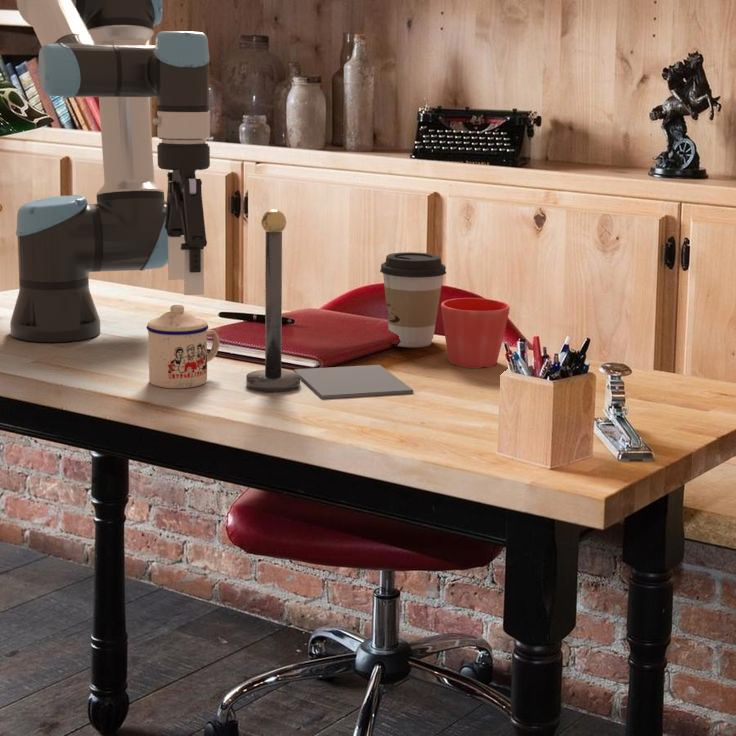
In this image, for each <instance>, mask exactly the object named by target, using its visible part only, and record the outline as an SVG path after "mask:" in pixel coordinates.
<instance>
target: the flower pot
mask: <svg viewBox="0 0 736 736" xmlns="http://www.w3.org/2000/svg"><path fill="white" fill-rule="evenodd" d="M440 307H441V317H442V325H443V329H444V330H443V332H444V337H445V344H446V350H447V356H448V362H449V363H450V364H451V365H454V366H457V367H461V368H470V369H472V368H473V369H481V368H490V367H493V366H496V365H497V362H498V359H499V356H500V352H501V348H502V344H503V340H504V335H505V331H506V327H507V323H508V320H509V319H508V318H509V315H510V308H511V307H510V305H509V304H508V303H505V302H503V301H499V300H496V299H490V298H480V297H461V298H459V297H458V298H451V299H447V300H444V301H442V302H441V305H440Z"/></svg>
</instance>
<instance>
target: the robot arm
mask: <svg viewBox="0 0 736 736" xmlns="http://www.w3.org/2000/svg"><path fill="white" fill-rule="evenodd" d="M14 1H15V6H16V8H17V10H18V13H19V15H20V16H21V17H22V19H23V21H25V22H26V24H28V25H29V26H30V27H32V28H33V31H34V33H35V35H36V37H37V39H38V41H39V44H40V46H41V47H40V49H39V52H38V78H39V83H40V88H41V91H42V92H43V93H44V94H45V95H46V96H49V97H63V98H65V99H69V98H71V99H72V98H98V101H99V102H98V103H99V105H98V106H99V120H100V135H101V151H102V165H103V166H102V167H103V181H104V183H103V185H102V187H101V188H100V189H99V190H98V191H97V192H96V203H88V200H87V199H86V198H87V197H85V196H84V195H79V194H75V195H74V194H72V195H59V196H51V197H44V198H40V199H35V200H32V201H28V202H27V203H24V204H23V205H21V206H20V207H19V209H18V210H17V214H16V230H15V236H17V258H18V284H19V287H18V288H19V291H18V294H17V298H16V301H15V304H14V308H13V312H12V314H11V318H10V325H9V326H10V336H11V337H13V338H14V339H17V340H22V341H27V342H36V343H65V342H76V341H81V340H82V341H83V340H87V339H91V338H93V337H94V338H95V337H96V336H98V335H100V334H101V318H100V316H99V314H98V313H99V312H98V310H97V307H96V305H95V301H94V300H93V296H92V294H91V291H90V283H89V280H90V279H89V275H90V274H89V273H93V272H94V273H96V272H100V273H101V272H118V271H119V272H121V271H123V272H124V271H125V272H126V271H127V272H128V271H141V272H143V271H146V270H155V269H156V270H157V269H162V268H164V267H165V266H166V265H167V269H168V270H167V272H168V281H178V280H180V281H181V280H182V281H183V289H184V290H183V292H184V296H197V295H198V296H199V295H204V294H205V278H204V275H205V273H204V267H205V265H204V262H205V261H204V256H205V255H204V248H205V247H207V244H208V240H207V233H206V225H205V214H204V206H203V205H204V204H203V194H202V191H203V190H202V185H203V182H202V179H201V178H197V175H196V171H202V170H207V169H209V168H210V166H211V159H210V158H211V150H210V148H211V147H210V145H209V143H208V142H206V141H207V140H210V137H211V122H210V121H211V115H210V114H211V112H210V59H211V56H210V53H209V52H210V51H209V50H210V49H209V40H208V39H209V38H208V37H207V35H206V34H205V33H204V32H202V31H201V32H200V31H176V30H175V31H173V30H172V31H170V30H169V31H168V30H167V31H164V30H163V31H159V32H158V33H157V34H156V35H155V43H154V45H146V44H147V42H148V41H149V40H150V39H151V38H152V37H153V36H154V33H155V32H154V27H156V26H158V25H160V23H161V22H162V20H163V19H162V18H163V6H164V5H163V0H14ZM150 98H156V112H157V113H156V115H157V117H154V118H153V119H152V120H151V110H150V109H151V108H150ZM151 121H152V122H151ZM151 123H152V124H153V125H154V126H156V125H157V126H156V127H157V128H156V131H157V134H156V135H157V138H158V139H159V140H161V142H159V143H158V144H157V145H156V147H157V151H156V152H157V166H158V168H159V169H161V170H164V171H167V175H166V177H167V190H166V191H167V192H166V193H167V195H166V199H165V191H164V190H163V189H162V187H161V186H159V185H158V184H157V182H156V181H155V167H154V153H153V151H154V150H153V140H152V139H153V137H152V124H151Z"/></svg>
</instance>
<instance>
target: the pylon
mask: <svg viewBox="0 0 736 736" xmlns="http://www.w3.org/2000/svg"><path fill="white" fill-rule="evenodd" d="M260 223H261V226H262V229H263V230H264V231H265V265H264V266H265V270H264V271H265V272H264V274H265V284H264V285H265V286H264V287H265V290H264V292H265V295H264V296H265V299H264V300H265V304H264V305H265V306H264V307H265V309H264V312H265V316H264V319H265V321H264V322H265V324H264V330H265V331H264V333H265V335H264V338H265V341H264V342H265V343H264V344H265V345H264V347H265V350H264V352H265V353H264V356H265V357H264V359H265V360H264V364H265V365H264V366H265V367H264V369H259V370H255V371H251V372H248V373H247V374H246V377H245V378H246V381H245V384H246V386H245V387H246V388H248V389H249V390H251V391H255V392H260V393H272V394H274V393H287V392H291V391H295V390H298V389H299V388H301V379H300V375H299V374H298V373H296V372H294V370H285V369H282V348H283V347H282V345H283V343H282V333H283V332H282V330H283V329H282V327H283V326H282V322H283V321H282V319H283V318H282V314H283V313H282V310H283V306H282V305H283V304H282V303H283V298H282V297H283V295H282V294H283V231H284V230H285V228H287V227H286V226H287V218H286V215H285V214H284V213H283V212H282V211H280V210H278V209H269V210H267V211H266V212H265V213H264V214H263V215H262V217H261V222H260Z"/></svg>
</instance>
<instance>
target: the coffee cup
mask: <svg viewBox="0 0 736 736" xmlns="http://www.w3.org/2000/svg"><path fill="white" fill-rule="evenodd" d="M385 257H386V258H385V262H383V263H381V264H380V271H379V273H381V274H382V276H383V285H384V297H385V305H386V313H387V314H386V316H387V325H388V326H387V327H388V331H389V330H390V331H391V332H393V333H395V334H397V335H398V336H399V339H400V341H401V342H400V343H399V344H398V345H397V346H396V347H401V348H424V347H428V346H431V345H432V343H433V342H432V341H433V339H434V335H435V329H436V322H437V318H438V317H437V316H438V311H439V304H440V298H441V291H442V285H443V279H444V275H446V274H447V271H446V269H447V268H446V267H447V266H446V265H445V264H443V263H442V259H441V256H440V255H438V254H433V253H426V252H416V251H415V252H412V251H411V252H409V251H408V252H407V251H406V252H393V253H389V254H388V255H386V256H385Z"/></svg>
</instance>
